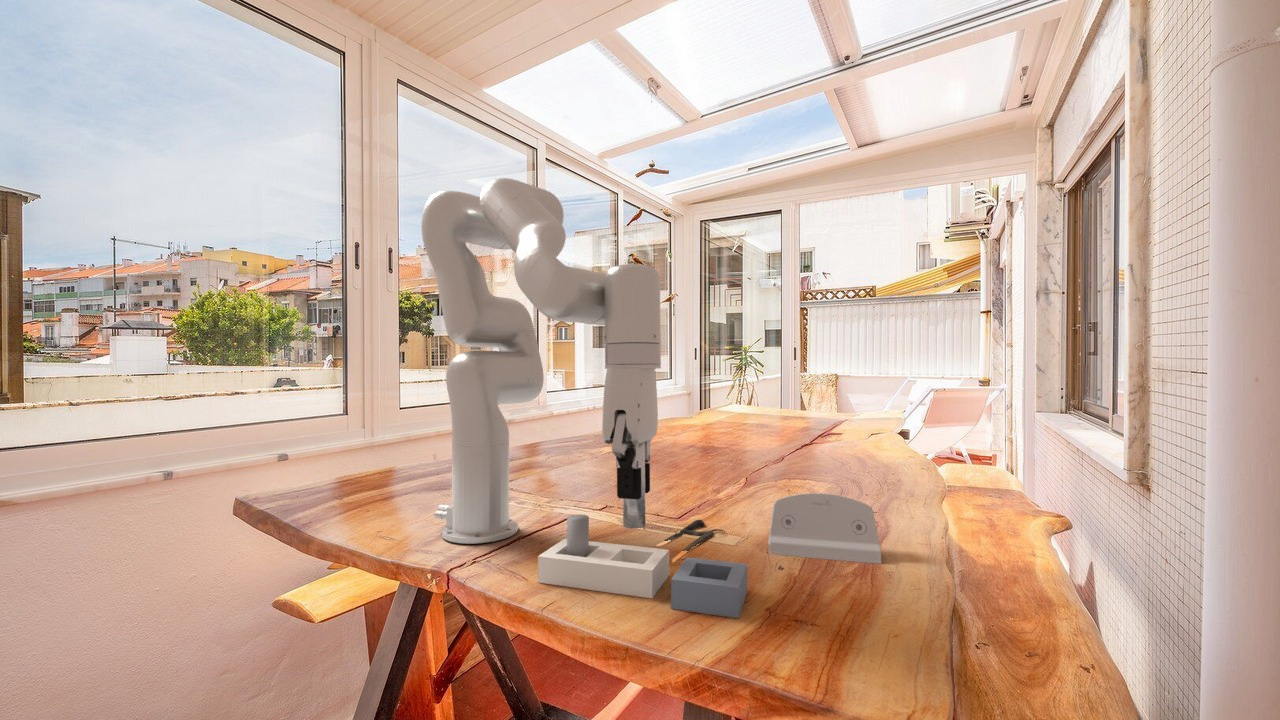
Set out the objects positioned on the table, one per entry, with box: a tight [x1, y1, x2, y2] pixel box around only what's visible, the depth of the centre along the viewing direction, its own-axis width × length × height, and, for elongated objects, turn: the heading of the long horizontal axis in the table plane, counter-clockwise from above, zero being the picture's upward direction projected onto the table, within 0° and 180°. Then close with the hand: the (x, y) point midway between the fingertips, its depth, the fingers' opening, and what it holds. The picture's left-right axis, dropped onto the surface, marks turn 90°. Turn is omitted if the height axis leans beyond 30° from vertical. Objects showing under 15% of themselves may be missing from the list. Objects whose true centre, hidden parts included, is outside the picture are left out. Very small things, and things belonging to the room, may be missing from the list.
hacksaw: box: [664, 519, 726, 575], centre depth 88 cm, size 24×10×2 cm, turn 147°
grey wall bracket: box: [767, 492, 882, 565], centre depth 86 cm, size 17×5×10 cm, turn 75°
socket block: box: [670, 556, 748, 619], centre depth 68 cm, size 8×8×4 cm
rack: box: [537, 514, 670, 599], centre depth 74 cm, size 16×8×8 cm, turn 72°
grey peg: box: [622, 439, 647, 530], centre depth 73 cm, size 3×3×12 cm
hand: (633, 493), depth 73 cm, fingers closed on grey peg, 3 cm apart
